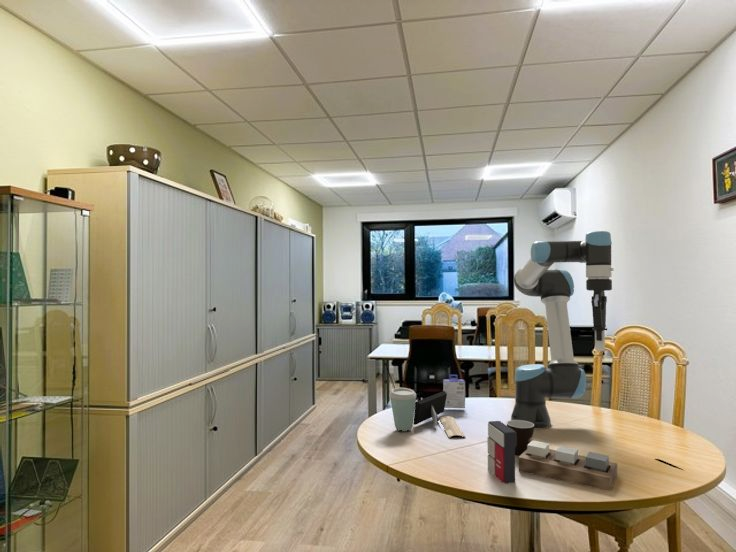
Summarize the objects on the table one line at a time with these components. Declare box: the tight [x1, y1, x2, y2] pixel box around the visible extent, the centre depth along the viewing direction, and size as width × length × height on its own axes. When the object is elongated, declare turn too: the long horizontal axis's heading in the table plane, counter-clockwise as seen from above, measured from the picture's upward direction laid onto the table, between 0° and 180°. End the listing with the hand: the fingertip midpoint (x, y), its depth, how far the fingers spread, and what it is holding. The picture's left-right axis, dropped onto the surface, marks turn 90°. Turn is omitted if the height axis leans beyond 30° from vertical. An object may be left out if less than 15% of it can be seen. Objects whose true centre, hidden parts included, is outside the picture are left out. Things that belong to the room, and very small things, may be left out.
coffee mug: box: [506, 419, 535, 457], centre depth 149 cm, size 12×9×10 cm
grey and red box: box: [486, 420, 517, 484], centre depth 130 cm, size 11×4×15 cm, turn 9°
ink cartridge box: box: [442, 374, 466, 409], centre depth 205 cm, size 10×6×14 cm, turn 83°
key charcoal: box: [585, 451, 610, 473], centre depth 125 cm, size 5×5×5 cm
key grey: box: [555, 445, 579, 466], centre depth 130 cm, size 5×5×5 cm
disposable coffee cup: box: [388, 387, 417, 432], centre depth 175 cm, size 11×11×15 cm
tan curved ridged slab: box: [438, 415, 466, 439], centre depth 176 cm, size 24×7×2 cm, turn 0°
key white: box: [527, 440, 550, 459], centre depth 135 cm, size 5×5×5 cm
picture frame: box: [413, 390, 447, 427], centre depth 188 cm, size 22×10×10 cm
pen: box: [654, 458, 686, 472], centre depth 135 cm, size 2×14×2 cm, turn 14°
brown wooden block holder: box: [518, 448, 618, 492], centre depth 130 cm, size 24×12×5 cm, turn 53°
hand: (600, 350), depth 147 cm, fingers closed
